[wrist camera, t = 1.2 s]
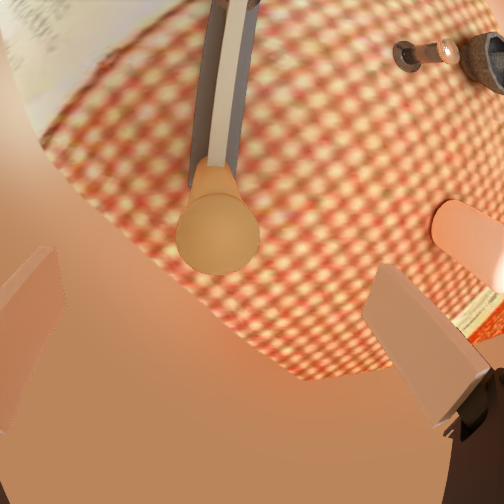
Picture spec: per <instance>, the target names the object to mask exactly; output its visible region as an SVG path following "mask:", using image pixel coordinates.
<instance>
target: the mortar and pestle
mask: <svg viewBox="0 0 504 504" xmlns="http://www.w3.org/2000/svg"><path fill="white" fill-rule="evenodd" d="M460 60H461V65H462V68H463V69H464V71H465V73H466V74H467V76H468V77H469V78H471V79H472V80H474V81H479V82H480V83H482V84H483V85H485V86H486V87H488V88H489V89H491V90H492V91H493V92H495V93H498V94H501V95H504V38H503V37H502V36H501V35H499V34H498V33H497V32H488V33H484V34H481V35H477V36H474V38H473V39H472V40H471V41H470V44H467V45H464V46H462V47H461V51H460Z"/></svg>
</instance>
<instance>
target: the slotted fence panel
mask: <svg viewBox="0 0 504 504" xmlns="http://www.w3.org/2000/svg"><path fill="white" fill-rule="evenodd" d="M247 2H248V0H229V2H228V7H227V12H226V18H225V19H226V23H225V29H224V35H223V41H222V47H221V54H220V60H219V67H218V74H217V81H216V88H215V96H214V104H213V112H212V120H211V129H210V138H209V148H208V156H206V157H204V158H203V159H201V160H200V162H199V163H198V165H197V167H196V171H195V175H194V179H193V184H192V188H191V192H190V196H189V201H188V205H187V206H186V208H185V209H184V210H183V212H182V214H181V215H180V218H179V220H178V224H177V228H176V234H175V240H176V246H177V249H178V252H179V254H180V256H181V257H182V258H183V260H184V261H185V262H186V263H187V264H188V265H189V266H190V267H192V268H193V269H195V270H197V271H199V272H202V273H205V274H209V275H225V274H229V273H232V272H235V271H237V270H239V269H241V268H242V267H244V266H245V265H246V264H247V263H248V262H249V261H250V260H251V259H252V258H253V256H254V255H255V253H256V251H257V248H258V246H259V241H260V230H259V226H258V223H257V220H256V218H255V216H254V214H253V212H252V210H251V209H250V208H249V206H248V205H247V204H246V203H245V202H243V201H242V198H241V196H240V193H239V191H238V188H237V185H236V183H235V180H234V178H233V175H232V173H231V170H230V167H229V165H228V163H227V161H226V160H225V157H226V148H227V140H228V131H229V123H230V115H231V108H232V100H233V93H234V85H235V78H236V71H237V64H238V57H239V51H240V44H241V38H242V32H243V25H244V19H245V13H246V8H247Z"/></svg>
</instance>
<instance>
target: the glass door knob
mask: <svg viewBox="0 0 504 504" xmlns="http://www.w3.org/2000/svg"><path fill="white" fill-rule="evenodd" d="M393 56H394V59H395V61H396V63H397V65H398V66H399V67H400V68H401V69H402V70H404V71H406V72H416V71H417V70H418V69H419V68H420V66H421V64H425V63H437V62H445V63H447V64H457V63H458V62H459V59H460V54H459V50H458V48H457V46H456V44H455V43H454V42H453V41H452V40H450V39H441V40H439V41H438V43H431V44H425V45H419V46H414V45H413V44H411V43H410V42H407V41H401V42H398V43H396V44H395V46H394V49H393Z"/></svg>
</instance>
